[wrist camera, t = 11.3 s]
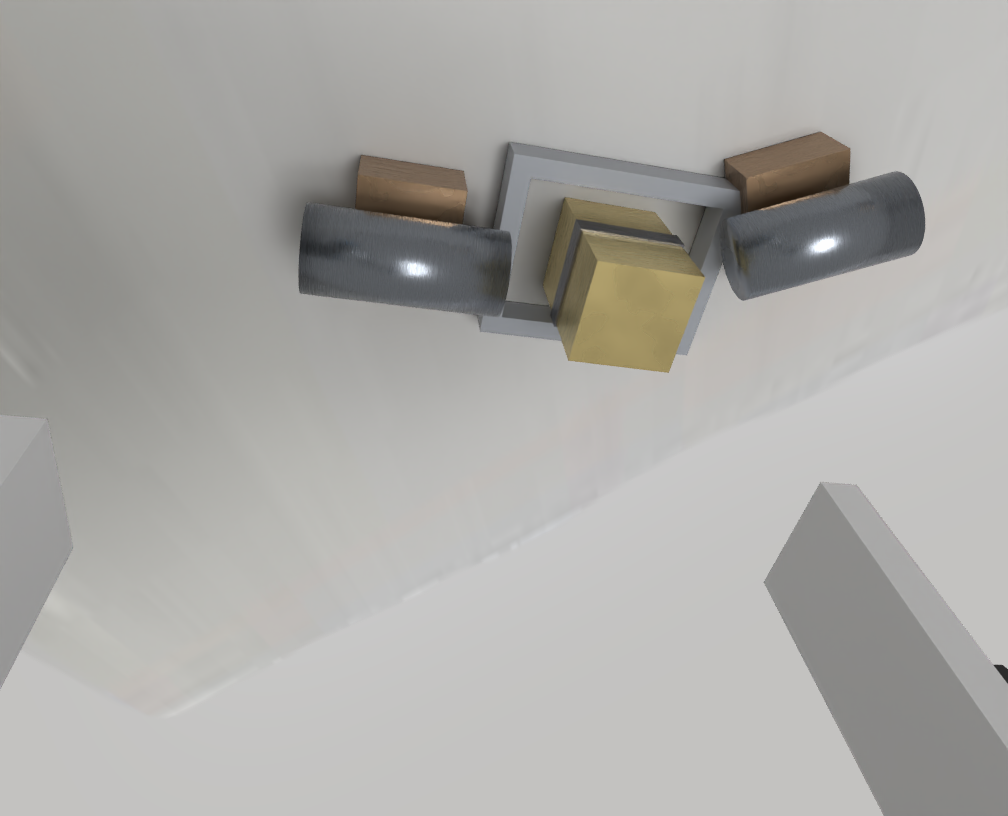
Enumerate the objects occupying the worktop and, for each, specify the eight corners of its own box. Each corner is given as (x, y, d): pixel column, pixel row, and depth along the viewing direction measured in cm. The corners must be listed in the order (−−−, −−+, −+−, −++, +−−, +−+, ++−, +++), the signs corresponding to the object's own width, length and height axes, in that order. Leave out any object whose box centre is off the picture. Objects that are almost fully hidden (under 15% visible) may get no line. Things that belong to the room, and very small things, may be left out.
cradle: (477, 314, 41) (480, 331, 39) (509, 141, 35) (514, 153, 34) (676, 337, 43) (686, 355, 41) (734, 179, 38) (749, 192, 36)
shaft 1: (313, 264, 38) (296, 329, 32) (318, 148, 35) (301, 198, 29) (482, 285, 40) (494, 351, 34) (503, 177, 36) (520, 229, 31)
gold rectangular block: (540, 286, 40) (565, 362, 34) (563, 194, 37) (595, 258, 31) (628, 298, 41) (669, 374, 35) (657, 210, 38) (708, 275, 32)
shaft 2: (705, 271, 41) (753, 332, 35) (695, 167, 37) (747, 217, 31) (846, 232, 40) (918, 288, 34) (850, 123, 37) (931, 165, 31)
